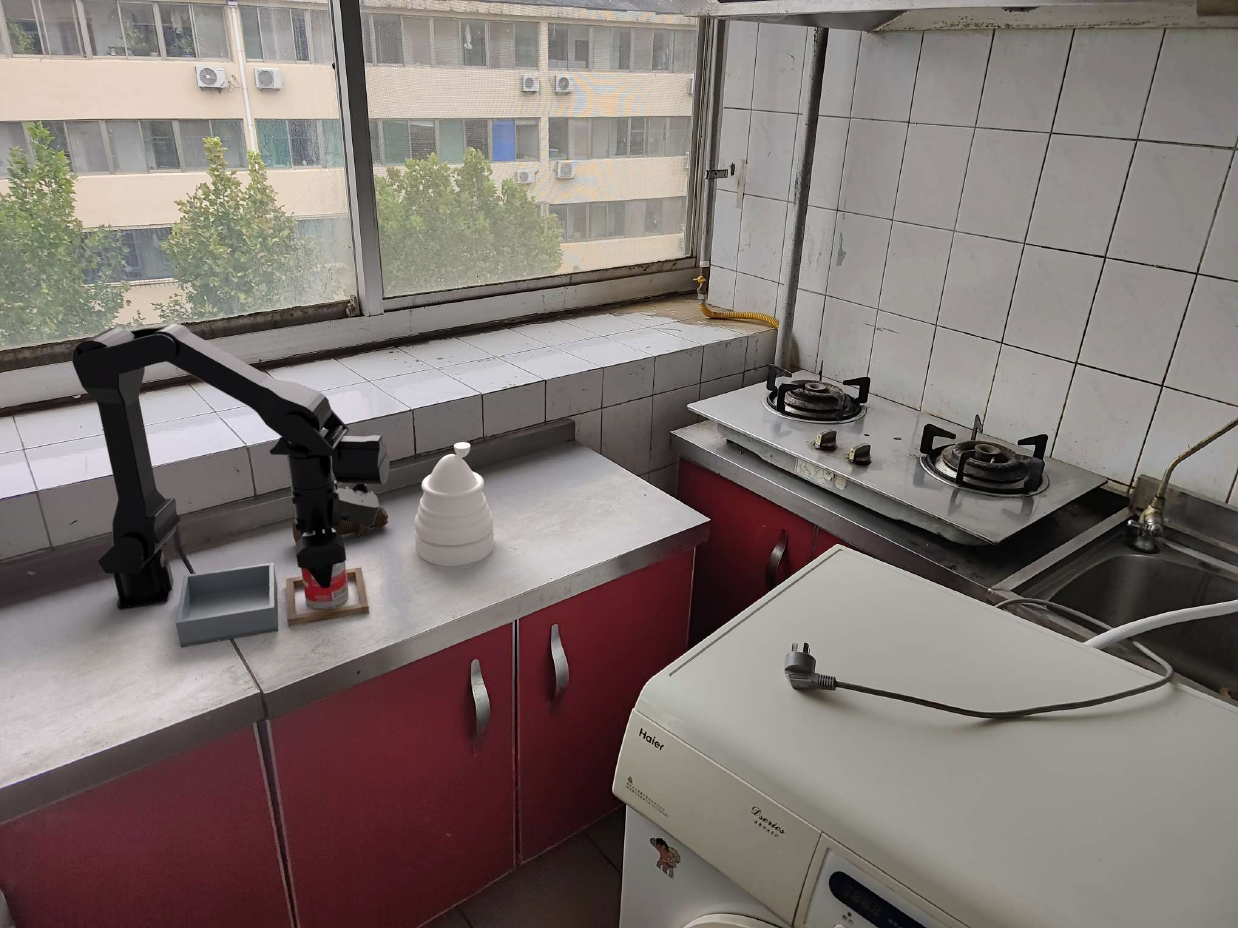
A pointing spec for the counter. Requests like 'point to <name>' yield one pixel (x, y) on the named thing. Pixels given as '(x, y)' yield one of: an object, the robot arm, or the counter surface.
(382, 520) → the bolt
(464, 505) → the honey pot
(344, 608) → the wooden frame
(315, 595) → the pill bottle
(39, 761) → the counter surface
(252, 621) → the bin
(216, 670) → the counter surface
